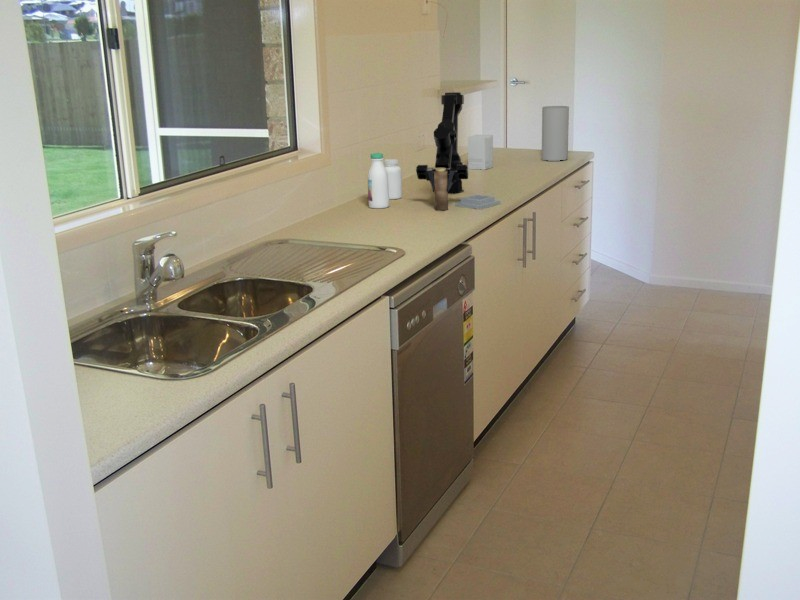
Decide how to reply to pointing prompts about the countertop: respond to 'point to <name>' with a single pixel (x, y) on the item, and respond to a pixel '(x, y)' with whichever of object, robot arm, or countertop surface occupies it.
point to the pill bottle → (394, 178)
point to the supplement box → (480, 152)
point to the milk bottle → (378, 183)
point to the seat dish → (477, 201)
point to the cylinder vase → (555, 133)
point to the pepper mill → (440, 189)
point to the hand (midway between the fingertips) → (440, 191)
